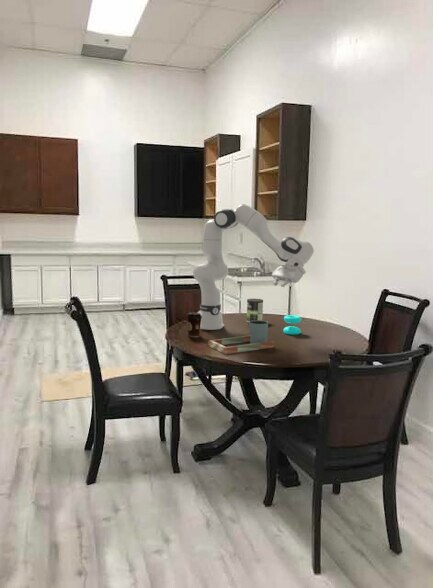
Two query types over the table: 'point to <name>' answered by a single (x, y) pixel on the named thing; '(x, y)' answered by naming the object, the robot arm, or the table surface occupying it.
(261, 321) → the grey-blue cylinder
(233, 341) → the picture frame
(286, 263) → the robot arm
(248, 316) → the coffee can
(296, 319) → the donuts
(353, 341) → the table surface
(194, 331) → the coffee cup
